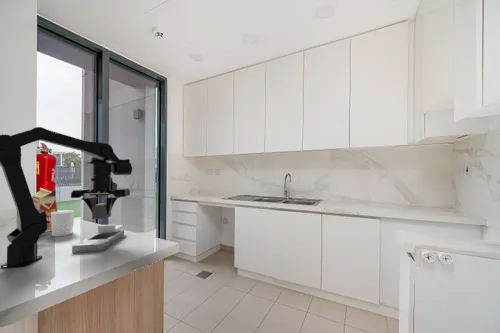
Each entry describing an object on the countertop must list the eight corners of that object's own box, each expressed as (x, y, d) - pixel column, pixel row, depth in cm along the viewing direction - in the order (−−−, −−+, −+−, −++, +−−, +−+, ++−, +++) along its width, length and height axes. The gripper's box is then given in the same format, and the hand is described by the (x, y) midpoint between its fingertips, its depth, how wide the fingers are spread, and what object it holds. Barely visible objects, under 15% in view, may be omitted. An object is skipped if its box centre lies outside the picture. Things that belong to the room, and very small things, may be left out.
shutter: (114, 233, 85) (115, 225, 85) (96, 233, 84) (96, 226, 84) (123, 227, 93) (123, 220, 93) (106, 228, 92) (106, 221, 92)
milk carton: (24, 232, 95) (25, 188, 95) (48, 227, 104) (49, 187, 104) (37, 234, 92) (38, 189, 92) (61, 228, 101) (62, 187, 101)
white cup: (78, 231, 96) (79, 210, 96) (61, 237, 88) (62, 213, 88) (63, 231, 96) (63, 209, 97) (45, 236, 89) (45, 213, 89)
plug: (105, 218, 80) (105, 204, 80) (92, 219, 79) (92, 204, 79) (110, 215, 84) (110, 202, 84) (98, 216, 84) (98, 203, 84)
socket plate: (103, 251, 73) (103, 244, 74) (72, 252, 72) (72, 245, 72) (124, 235, 90) (124, 230, 90) (98, 237, 88) (98, 231, 88)
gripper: (135, 174, 92) (134, 210, 91) (87, 175, 88) (87, 211, 88) (124, 175, 81) (124, 215, 80) (70, 175, 77) (69, 217, 77)
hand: (101, 214), depth 82 cm, fingers closed on plug, 4 cm apart
